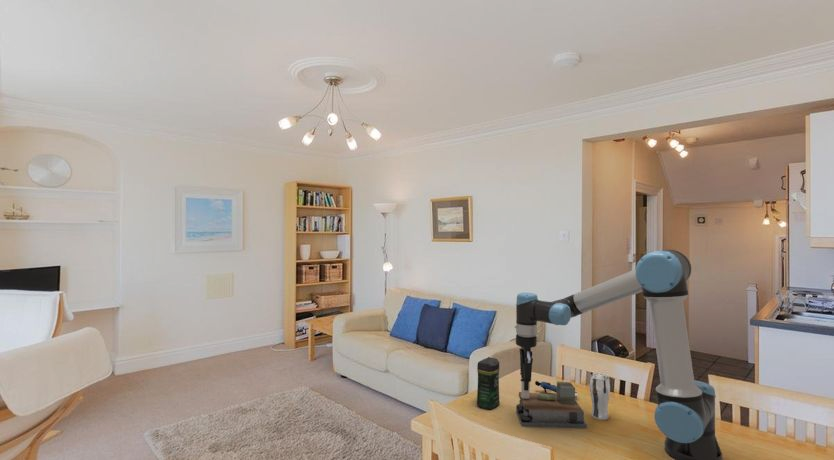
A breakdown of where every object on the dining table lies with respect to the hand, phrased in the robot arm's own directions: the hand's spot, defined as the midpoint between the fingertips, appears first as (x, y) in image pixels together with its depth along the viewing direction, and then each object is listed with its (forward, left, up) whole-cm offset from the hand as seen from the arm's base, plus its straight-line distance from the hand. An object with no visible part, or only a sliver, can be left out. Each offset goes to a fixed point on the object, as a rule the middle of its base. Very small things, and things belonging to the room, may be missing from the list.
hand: (525, 397), depth 157 cm
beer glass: (+4, -28, -8) cm, 30 cm away
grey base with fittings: (0, -9, -8) cm, 12 cm away
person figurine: (+23, -17, -9) cm, 30 cm away
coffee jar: (+12, +13, -8) cm, 19 cm away
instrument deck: (0, -8, -2) cm, 9 cm away
